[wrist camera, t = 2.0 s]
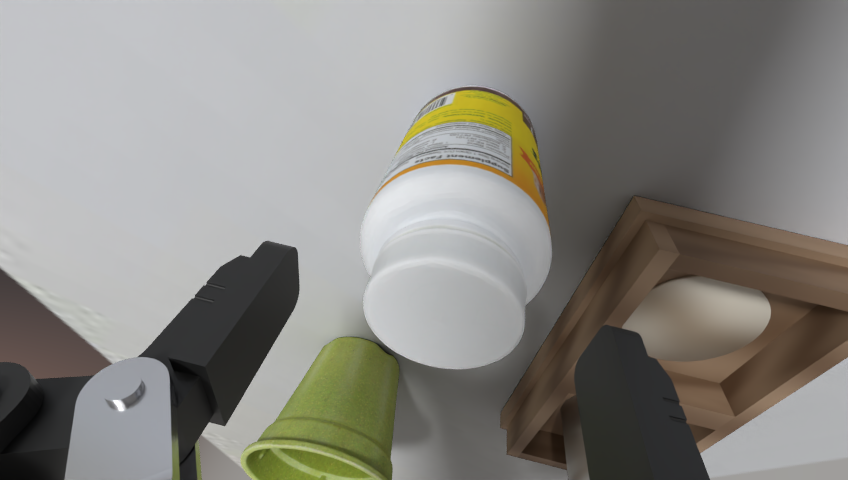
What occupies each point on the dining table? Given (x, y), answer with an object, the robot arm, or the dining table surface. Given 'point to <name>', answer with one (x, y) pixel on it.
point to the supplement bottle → (458, 233)
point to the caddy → (690, 324)
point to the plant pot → (333, 419)
